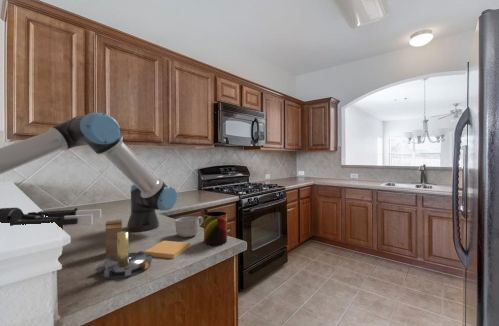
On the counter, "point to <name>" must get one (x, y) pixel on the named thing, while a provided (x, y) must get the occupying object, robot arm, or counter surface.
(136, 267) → the sprocket
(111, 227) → the link block
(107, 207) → the counter surface
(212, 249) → the counter surface
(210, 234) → the mug
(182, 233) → the teacup
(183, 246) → the light orange square slab
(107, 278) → the sprocket plinth
